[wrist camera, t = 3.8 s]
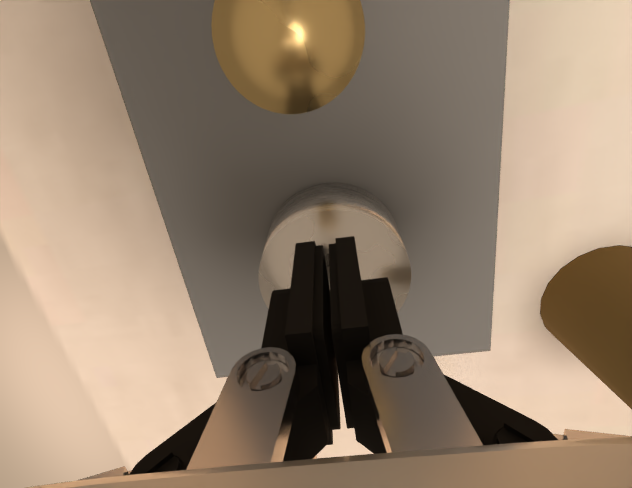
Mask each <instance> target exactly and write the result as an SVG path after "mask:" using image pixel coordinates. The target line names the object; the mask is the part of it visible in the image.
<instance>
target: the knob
mask: <svg viewBox="0 0 632 488" xmlns="http://www.w3.org/2000/svg"><path fill="white" fill-rule="evenodd" d="M350 236H354V237H355V244H356V250H357V256H358V263H359V269H360V276H361V280H367V279H375V278H384V277H388V280H389V283H390V287H391V291H392V295H393V298H394V302H395V306H396V310H397V313H398V311H399V310H400V308H401V307H402V306H403V304H404V302H405V300H406V298H407V295H408V292H409V289H410V284H411V267H410V261H409V258H408V255H407V252H406V249H405V247H404V244H403V242H402V239H401V237H400V234H399V231H398V229H397V226H396V224H395V221H394V219H393V217H392V215H391V213H390V212H389V210H388V209H387V207H386V206H385V205H384V204H383V203H382V202H381V201H380V200H379V199H378V198H377V197H375V196H374V195H372V194H371V193H369V192H368V191H366V190H364V189H361V188H359V187H356V186H353V185H348V184H343V183H324V184H319V185H315V186H312V187H309V188H306V189H304V190H302V191H300V192H298V193H296V194H295V195H293V196H292V197H291V198H289V199H288V200H287V201H286V202H285V203H284V204H283V205H282V206H281V207H280V208H279V210H278V211H277V213H276V215H275V216H274V218H273V220H272V223H271V226H270V229H269V233H268V236H267V240H266V243H265V247H264V251H263V254H262V258H261V262H260V266H259V287H260V291H261V294H262V297H263V300H264V302H265V304H266V306H267V307H268V309H269V304H270V298H271V294H272V291H273V290H280V289H289V288H290V287H291V278H292V270H293V261H294V253H295V245H296V243H302V242H310V241H315V243H316V246H318V245H323V248H324V255H325V261H326V268H327V274H328V280H329V287H330V274H329V244H334V243H336V240H335V238H342V237H350Z"/></svg>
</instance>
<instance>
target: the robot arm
mask: <svg viewBox="0 0 632 488" xmlns="http://www.w3.org/2000/svg"><path fill="white" fill-rule="evenodd" d="M335 240H336V243H334V244H329V274H330V287H329V280H328V274H327V268H326V261H325V255H324V248H323V245H318V246H316V243H315V241H310V242H302V243H296V245H295V253H294V261H293V270H292V278H291V287H290V288H289V289H280V290H273V291H272V294H271V298H270V304H269V309H268V315H267V320H266V325H265V331H264V336H263V342H262V347H261V348H260V349H257V350H254V351H251V352H250V353H248V354H246V355H244V356H243V357H242V358H241V359H240V360H238V361H237V362H236V363H235V365H234V366H233V368H232V370H231V372H230V374H229V376H228V378H227V380H226V383H225V385H224V387H223V389H222V391H221V394H220V396H219V398H218V400H217V402H216V403H215V404H214V405H212V406H211V407H210V408H208V409H207V410H206V411H204V412H203V413H202V414H200V415H199V416H198V417H196V418H195V419H194V420H192V421H191V422H190V423H188V424H187V425H186V426H184V427H183V428H182V429H180V430H179V431H178V432H176V433H175V434H174V435H172V436H171V437H170V438H168V439H167V440H166V441H164V442H163V443H162V444H160V445H159V446H158V447H156V448H155V449H154V450H152V451H151V452H150V453H148V454H147V455H146V456H145V457H144V458H143V459H142V460H140V461H139V462H138V463H137V464H136V466H135V467H134V468H133V470H131V471H127V469H126V467H125V466H124V467H121V468H117V469H114V470H110V471H107V472H104V473H101V474H97V475H94V476H90V477H87V478H83V479H80V480H77V481H69V482H61V483H54V484H47V485H41V486H33V487H26V488H632V436H625V435H616V434H606V433H597V432H588V431H579V430H569V429H565V430H564V435H559V434H552V433H551V432H550V431H549V430H548V429H547V428H545V427H544V426H542V425H541V424H539V423H538V422H536V421H534V420H532V419H530V418H528V417H526V416H524V415H523V414H521V413H519V412H517V411H515V410H513V409H511V408H509V407H507V406H505V405H503V404H501V403H499V402H497V401H495V400H493V399H491V398H489V397H487V396H485V395H483V394H481V393H479V392H477V391H475V390H473V389H471V388H469V387H467V386H465V385H463V384H461V383H460V382H458V381H456V380H454V379H452V378H450V377H448V376H446V375H444V374H443V373H442V371H441V370H440V368H439V366H438V364H437V362H436V361H435V359H434V357H433V355H432V354H431V352H430V350H429V349H428V348H427V346H426V345H425V344H424V343H423V342H421V341H419V340H418V339H416V338H414V337H411V336H408V335H403V333H402V329H401V325H400V321H399V317H398V314H397V310H396V306H395V302H394V298H393V295H392V291H391V287H390V283H389V280H388V277H384V278H375V279H367V280H361V276H360V269H359V263H358V256H357V250H356V244H355V237H354V236H350V237H342V238H335ZM338 375H339V381H340V387H341V393H342V399H343V405H344V412H345V418H346V424H347V428H355V434H356V440H357V441H358V442H359V443H361V444H362V445H363V446H365V447H366V448H367V449H369V450H370V451H371V452H373V453H374V454H367V455H355V456H343V457H331V458H318V459H317V456H316V455H317V454H318V453H319V452H320V451H321V450H322V449H323V448H324V447H325V446H326V445H331V444H333V434H332V430H334V429H340V407H339V386H338Z"/></svg>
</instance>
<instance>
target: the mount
mask: <svg viewBox="0 0 632 488" xmlns="http://www.w3.org/2000/svg"><path fill="white" fill-rule="evenodd" d="M214 1H215V0H90V2H91V5H92V8H93V11H94V14H95V17H96V20H97V23H98V26H99V29H100V32H101V35H102V37H103V40H104V43H105V46H106V49H107V52H108V55H109V58H110V61H111V64H112V67H113V70H114V73H115V76H116V79H117V82H118V85H119V88H120V91H121V94H122V97H123V100H124V103H125V106H126V109H127V112H128V115H129V118H130V121H131V124H132V127H133V130H134V133H135V136H136V139H137V142H138V145H139V148H140V151H141V154H142V157H143V160H144V163H145V166H146V169H147V172H148V175H149V177H150V180H151V183H152V186H153V189H154V192H155V195H156V198H157V201H158V204H159V207H160V210H161V213H162V216H163V219H164V222H165V225H166V228H167V231H168V234H169V237H170V240H171V243H172V246H173V249H174V252H175V255H176V258H177V261H178V264H179V267H180V270H181V273H182V276H183V279H184V282H185V285H186V288H187V291H188V294H189V297H190V300H191V303H192V306H193V309H194V312H195V315H196V317H197V320H198V323H199V326H200V329H201V332H202V335H203V338H204V341H205V344H206V347H207V350H208V353H209V356H210V359H211V362H212V365H213V368H214V371H215V374H216V377H217V378H220V377H228V376H229V374H230V372H231V370H232V368H233V366H234V365H235V363H236V362H237V361H238V360H240V359H241V358H242V357H243V356H244V355H246V354H248V353H250V352H251V351H254V350H257V349H260V348H261V347H262V342H263V336H264V331H265V325H266V320H267V315H268V307H267V306H266V304H265V302H264V300H263V297H262V294H261V291H260V287H259V266H260V262H261V258H262V254H263V251H264V247H265V243H266V240H267V236H268V233H269V229H270V226H271V223H272V220H273V218H274V216H275V215H276V213H277V211H278V210H279V208H280V207H281V206H282V205H283V204H284V203H285V202H286V201H287V200H288V199H289V198H291V197H292V196H293V195H295V194H296V193H298V192H300V191H302V190H304V189H306V188H309V187H312V186H315V185H319V184H324V183H343V184H348V185H353V186H356V187H359V188H361V189H364V190H366V191H368V192H369V193H371V194H372V195H374V196H375V197H377V198H378V199H379V200H380V201H381V202H382V203H383V204H384V205H385V206H386V207H387V209H388V210H389V212H390V213H391V215H392V217H393V219H394V221H395V224H396V226H397V229H398V231H399V234H400V237H401V239H402V242H403V244H404V247H405V249H406V252H407V255H408V258H409V261H410V267H411V284H410V289H409V292H408V295H407V298H406V300H405V302H404V304H403V306H402V307H401V308H400V310H399V311H398V313H397V314H398V317H399V321H400V325H401V329H402V333H403V335H408V336H411V337H414V338H416V339H418V340H419V341H421V342H423V343H424V344H425V345H426V346H427V348H428V349H429V350H430V352H431V354H432V355H433V356H441V355H452V354H462V353H472V352H482V351H490V347H491V329H492V310H493V292H494V274H495V256H496V237H497V219H498V201H499V183H500V165H501V146H502V128H503V110H504V92H505V73H506V55H507V37H508V19H509V0H360V1H361V4H362V8H363V13H364V20H365V41H364V48H363V53H362V57H361V60H360V63H359V65H358V68H357V70H356V72H355V74H354V76H353V77H352V79H351V81H350V82H349V84H348V85H347V86H346V87H345V89H344V90H343V91H342V92H341V93H340V94H339V95H338V96H337V97H336V98H334V99H333V100H332V101H330V102H329V103H327V104H326V105H324V106H322V107H320V108H318V109H315V110H313V111H310V112H306V113H301V114H281V113H275V112H271V111H268V110H265V109H263V108H261V107H259V106H257V105H255V104H253V103H252V102H250V101H249V100H247V99H246V98H245V97H244V96H242V95H241V94H240V93H239V92H238V91H237V90H236V89H235V88H234V87H233V85H232V84H231V83H230V81H229V80H228V79H227V77H226V75H225V74H224V72H223V70H222V68H221V66H220V64H219V61H218V59H217V56H216V53H215V49H214V45H213V39H212V27H211V23H212V12H213V6H214Z"/></svg>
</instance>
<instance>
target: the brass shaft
mask: <svg viewBox="0 0 632 488" xmlns="http://www.w3.org/2000/svg"><path fill="white" fill-rule="evenodd" d="M211 27H212V39H213V45H214V49H215V53H216V56H217V59H218V61H219V64H220V66H221V68H222V70H223V72H224V74H225V75H226V77H227V79H228V80H229V81H230V83H231V84H232V85H233V87H234V88H235V89H236V90H237V91H238V92H239V93H240V94H241V95H242V96H244V97H245V98H246V99H247V100H249V101H250V102H252V103H253V104H255V105H257V106H259V107H261V108H263V109H265V110H268V111H271V112H275V113H281V114H301V113H306V112H310V111H313V110H315V109H318V108H320V107H322V106H324V105H326V104H327V103H329V102H330V101H332V100H333V99H334V98H336V97H337V96H338V95H339V94H340V93H341V92H342V91H343V90H344V89H345V87H346V86H347V85H348V84H349V82H350V81H351V79H352V77H353V76H354V74H355V72H356V70H357V68H358V65H359V63H360V60H361V57H362V53H363V48H364V41H365V20H364V13H363V8H362V4H361V1H360V0H215V1H214V6H213V12H212V23H211Z"/></svg>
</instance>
